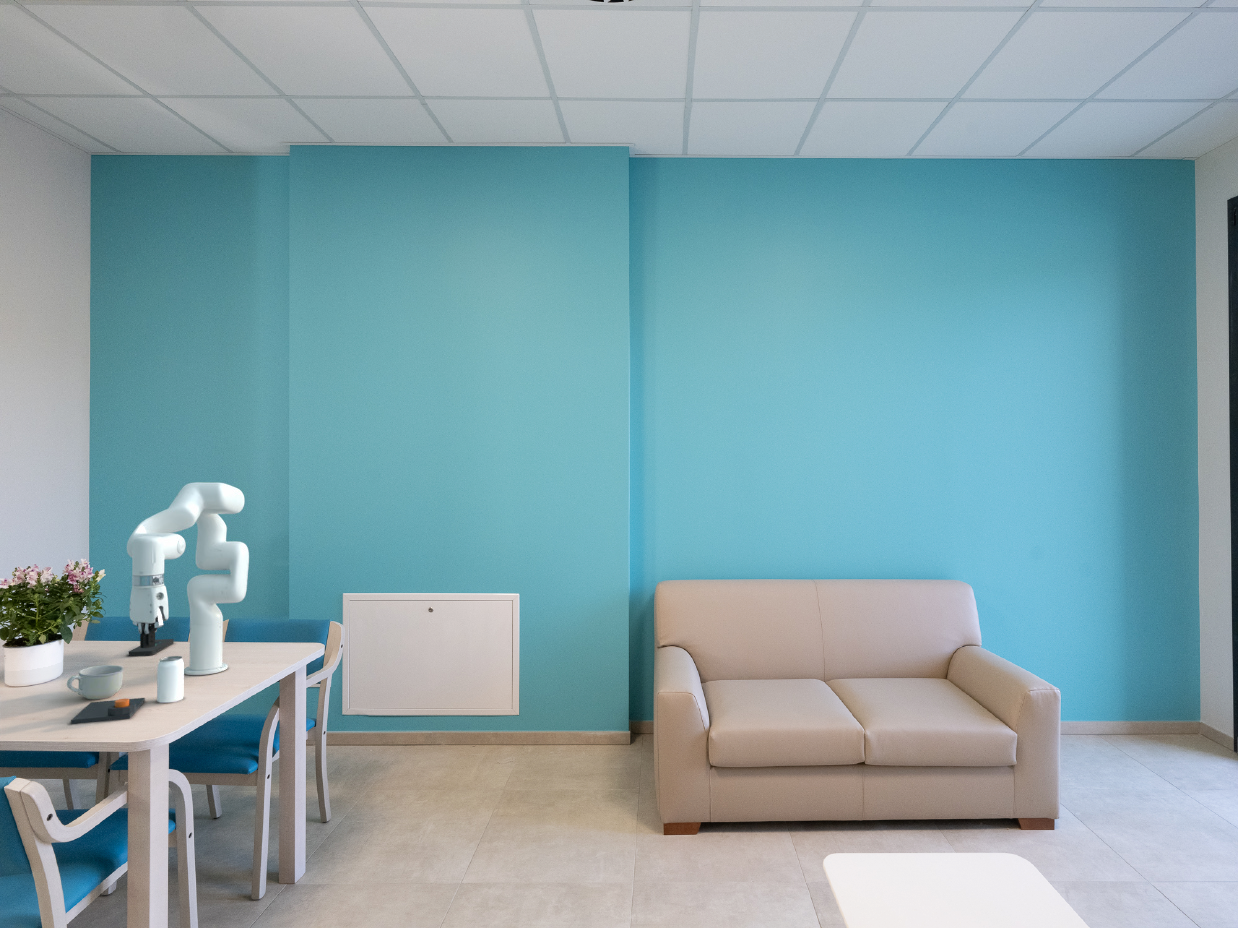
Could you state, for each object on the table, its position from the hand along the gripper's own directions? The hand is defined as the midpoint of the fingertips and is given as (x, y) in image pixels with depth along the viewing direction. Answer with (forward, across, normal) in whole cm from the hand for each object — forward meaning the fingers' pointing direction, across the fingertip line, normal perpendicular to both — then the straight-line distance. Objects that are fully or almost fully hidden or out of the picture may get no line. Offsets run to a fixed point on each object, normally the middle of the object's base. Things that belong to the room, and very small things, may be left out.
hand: (147, 646), depth 206 cm
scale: (+17, +5, +7) cm, 19 cm away
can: (+17, +1, -7) cm, 19 cm away
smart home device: (+18, +65, -48) cm, 82 cm away
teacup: (+17, +23, 0) cm, 29 cm away
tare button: (+14, -1, +8) cm, 16 cm away
